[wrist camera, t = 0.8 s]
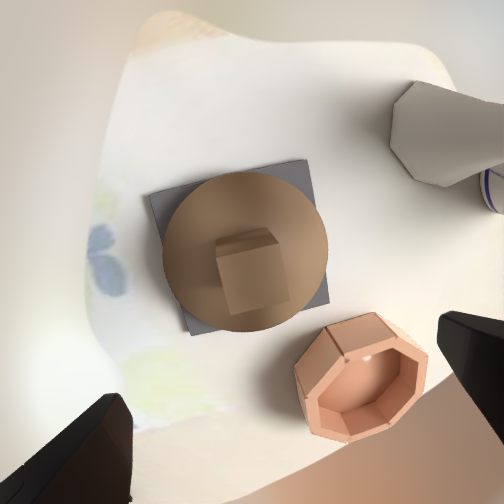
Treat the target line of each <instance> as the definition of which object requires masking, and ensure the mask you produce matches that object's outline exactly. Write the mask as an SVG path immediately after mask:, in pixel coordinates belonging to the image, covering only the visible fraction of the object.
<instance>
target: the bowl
mask: <svg viewBox="0 0 504 504" xmlns="http://www.w3.org/2000/svg"><path fill="white" fill-rule="evenodd" d="M427 362H428V355H427V353H426V352H425V351H424V350H423V349H422V348H421V347H420V346H419V345H418V344H417V343H416V342H415V341H414V340H413V339H412V338H411V337H410V336H409V335H408V334H407V333H406V332H405V331H403V330H402V329H400V328H399V327H397V326H395V325H394V324H392V323H391V322H389V321H388V320H386V319H384V318H383V317H381V316H380V315H378V314H377V313H373V312H372V313H369V314H366V315H363V316H359V317H356V318H353V319H350V320H346V321H343V322H339V323H336V324H332V325H329V326H327V329H325V328H324V329H323V330H322V331H321V332H320V334H319V335H318V336H317V338H316V339H315V340H314V341H313V343H312V344H311V345H310V346H309V348H308V349H307V350H306V352H305V353H304V354H303V355H302V356H301V358H300V359H299V360H298V361H297V363H296V364H295V365H294V367H295V368H293V369H294V374H295V380H296V385H297V391H298V396H299V402H300V404H301V407H302V410H303V413H304V416H305V419H306V422H307V425H308V427H309V430H310V433H312V434H314V435H317V436H321V437H324V438H328V439H331V440H335V441H339V442H343V443H347V442H348V443H350V442H353V441H356V440H359V439H362V438H365V437H367V436H370V435H373V434H375V433H378V432H381V431H383V430H386V429H388V428H390V426H393V425H394V424H395V423H396V422H397V421H398V420H399V419H400V418H401V417H402V416H403V415H404V414H405V413H406V412H407V410H408V409H409V408H410V407H411V406H412V405H413V404H414V403H415V402H416V400H417V399H418V398H419V397H420V396H421V395H422V392H424V386H425V378H426V371H427Z"/></svg>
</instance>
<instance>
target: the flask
mask: <svg viewBox="0 0 504 504" xmlns="http://www.w3.org/2000/svg"><path fill="white" fill-rule="evenodd" d="M390 148H391V149H392V150H393V152H394V153H395V154H396V155H397V157H398V158H399V159H400V161H401V162H402V163H403V165H404V166H405V167H406V169H407V170H408V171H409V173H410V174H411V175H412V177H413V178H414V179H415V180H417V181H421V182H425V183H429V184H433V185H437V186H440V187H444V188H447V187H449V186H451V185H454V184H456V183H458V182H460V181H462V180H464V179H466V178H468V177H470V176H472V175H474V174H476V173H479V172H481V171H484V170H486V169H488V168H491V167H493V166H495V165H498V164H502V163H504V104H498V103H492V102H485V101H482V100H480V99H477V98H473V97H470V96H467V95H464V94H461V93H457V92H454V91H451V90H448V89H445V88H442V87H439V86H435V85H432V84H429V83H425V82H421V81H416V82H415V83H414V84H413V85H412V86H411V87H410V88H409V89H408V90H407V91H406V92H405V93H404V94H403V95H402V96H401V97H400V98H399V99H398V100H397V102H396V103H395V104H394V108H393V120H392V131H391V140H390Z"/></svg>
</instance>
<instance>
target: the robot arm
mask: <svg viewBox="0 0 504 504" xmlns="http://www.w3.org/2000/svg"><path fill="white" fill-rule="evenodd" d="M437 344H438V346H439V348H440V350H441V352H442V353H443V355H444V356H445V358H446V360H447V361H448V363H449V365H450V366H451V368H452V370H453V371H454V373H455V375H456V377H457V378H458V380H459V381H460V383H461V384H462V386H463V387H464V389H465V390H466V392H467V393H468V394H469V396H470V397H471V398H472V400H473V401H474V403H475V404H476V405H477V407H478V408H479V410H480V411H481V412H482V414H483V415H484V417H485V418H486V420H487V421H488V423H489V424H490V425H491V427H492V428H493V430H494V431H495V433H496V434H497V436H498V437H499V438H500V440H501V441H502V443H503V445H504V321H502V320H497V319H492V318H487V317H482V316H477V315H472V314H467V313H462V312H457V311H449V312H446V313H444V314H442V315H441V316H440V317H439V321H438V332H437ZM132 462H133V418H132V415H131V413H130V411H129V409H128V407H127V406H126V404H125V402H124V400H123V398H122V397H121V395H120V394H118V393H109V394H104V395H103V396H102V397H101V398H100V399H98V400H97V401H96V402H95V403H94V404H93V405H91V406H90V407H89V408H88V409H87V410H86V411H85V412H83V413H82V414H81V415H80V416H79V417H78V418H77V419H75V420H74V421H73V422H72V423H71V424H70V425H68V426H67V427H66V428H65V429H64V430H63V431H61V432H60V433H59V434H58V435H57V436H56V437H55V438H53V439H52V440H51V441H50V442H49V443H47V444H46V445H45V446H44V447H43V448H42V449H41V450H39V451H38V452H37V453H36V454H35V455H34V456H32V457H31V458H30V459H29V460H28V461H26V462H25V463H24V465H22V466H21V467H19V468H18V469H17V470H16V471H15V472H13V473H12V474H11V475H10V476H9V477H7V478H6V479H5V480H4V481H2V482H1V483H0V504H129V502H132V499H133V498H132V497H131V496H130V485H131V476H132Z"/></svg>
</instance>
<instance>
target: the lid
mask: <svg viewBox="0 0 504 504" xmlns="http://www.w3.org/2000/svg"><path fill="white" fill-rule="evenodd" d="M327 260H328V241H327V235H326V230H325V227H324V224H323V222H322V219H321V217H320V215H319V213H318V211H317V210H316V208H315V207H314V205H313V204H312V203H311V201H310V200H309V199H308V198H307V197H306V196H305V195H304V194H303V193H302V192H301V191H299V190H298V189H297V188H296V187H294V186H293V185H291V184H289V183H288V182H286V181H284V180H281V179H279V178H277V177H274V176H270V175H267V174H263V173H256V172H235V173H229V174H225V175H222V176H218V177H216V178H213V179H211V180H209V181H207V182H205V183H204V184H202V185H201V186H199V187H197V188H196V189H195V190H194V191H193V192H191V193H190V194H189V195H188V196H187V197H186V198H185V200H184V201H183V202H182V203H181V204H180V205H179V207H178V208H177V210H176V211H175V213H174V214H173V216H172V218H171V220H170V222H169V224H168V227H167V230H166V233H165V237H164V243H163V266H164V271H165V275H166V278H167V281H168V283H169V286H170V288H171V290H172V292H173V293H174V295H175V297H176V298H177V299H178V301H179V302H180V303H181V305H182V306H183V307H184V308H185V309H186V310H187V311H188V312H190V313H191V314H192V315H193V316H195V317H196V318H197V319H199V320H201V321H202V322H204V323H206V324H208V325H211V326H213V327H216V328H219V329H222V330H227V331H232V332H254V331H260V330H265V329H268V328H271V327H274V326H276V325H279V324H281V323H283V322H285V321H287V320H288V319H290V318H292V317H293V316H294V315H296V314H297V313H298V312H299V311H301V310H302V309H303V308H304V307H305V306H306V305H307V304H308V302H309V301H310V300H311V299H312V297H313V296H314V294H315V293H316V291H317V290H318V288H319V286H320V284H321V282H322V279H323V277H324V273H325V270H326V266H327Z"/></svg>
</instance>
